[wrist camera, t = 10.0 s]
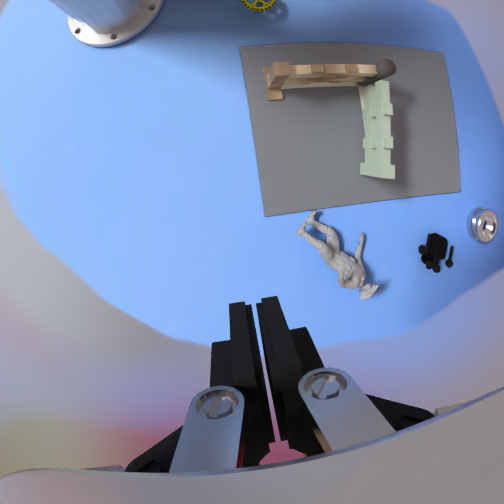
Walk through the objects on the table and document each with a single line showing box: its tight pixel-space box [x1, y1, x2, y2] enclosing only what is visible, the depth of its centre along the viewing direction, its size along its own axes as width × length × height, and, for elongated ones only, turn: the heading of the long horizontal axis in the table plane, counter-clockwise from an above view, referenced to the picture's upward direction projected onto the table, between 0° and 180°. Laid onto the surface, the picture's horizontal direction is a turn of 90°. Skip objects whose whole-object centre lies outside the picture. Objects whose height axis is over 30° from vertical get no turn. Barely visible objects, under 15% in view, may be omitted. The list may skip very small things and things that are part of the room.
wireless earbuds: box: [419, 233, 454, 273], centre depth 39 cm, size 7×2×5 cm
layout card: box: [239, 42, 461, 217], centre depth 34 cm, size 20×28×1 cm
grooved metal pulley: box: [466, 206, 498, 243], centre depth 37 cm, size 5×3×5 cm
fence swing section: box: [360, 80, 395, 179], centre depth 31 cm, size 10×1×6 cm, turn 0°
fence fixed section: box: [263, 59, 396, 101], centre depth 29 cm, size 13×4×7 cm, turn 98°
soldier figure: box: [296, 210, 379, 300], centre depth 36 cm, size 8×5×12 cm
